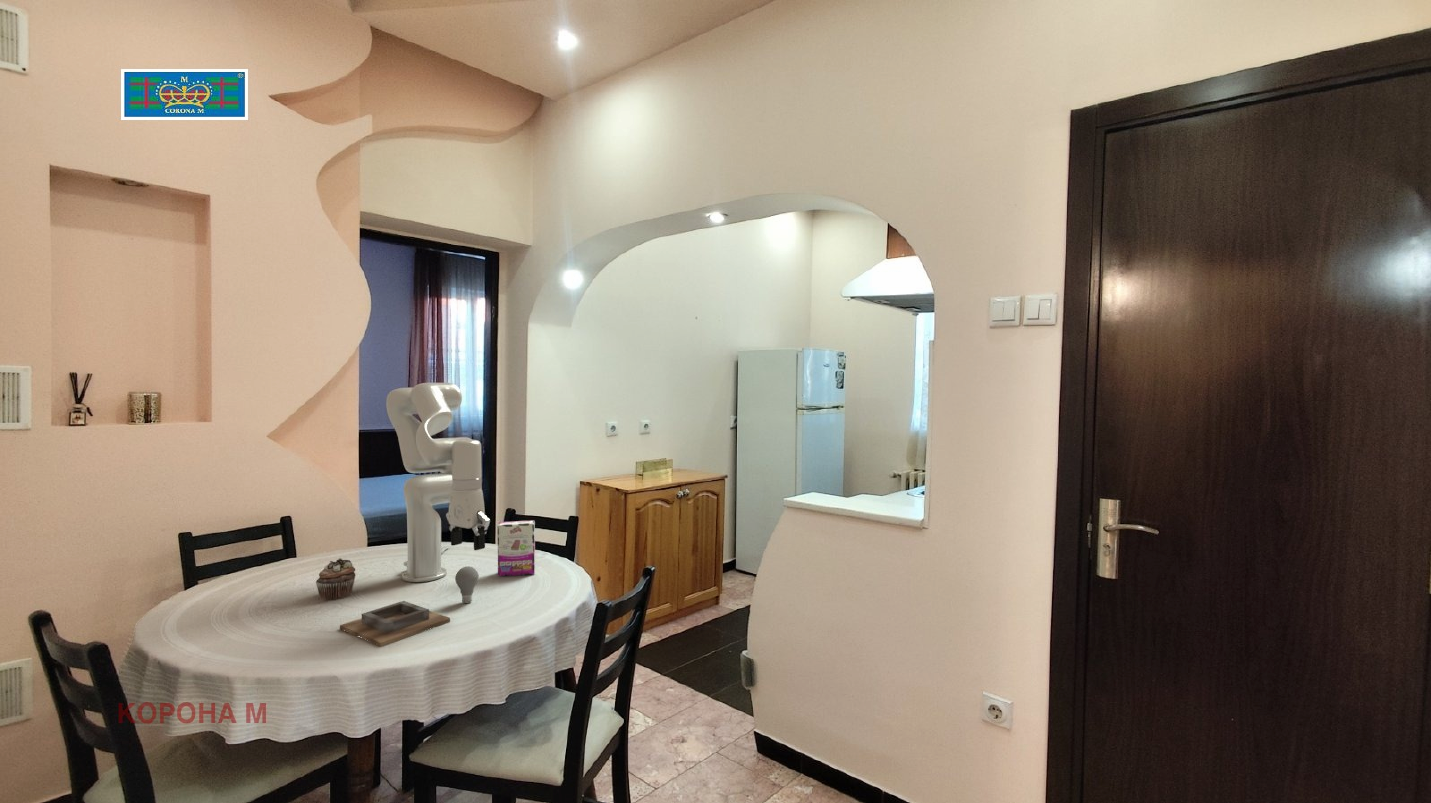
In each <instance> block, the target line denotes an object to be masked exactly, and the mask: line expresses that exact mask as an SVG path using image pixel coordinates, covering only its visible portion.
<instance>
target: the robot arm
mask: <svg viewBox="0 0 1431 803" xmlns="http://www.w3.org/2000/svg"><path fill="white" fill-rule="evenodd" d="M462 402H463V395H462V391H461V389H460V388H459V386H458V385H457V384H455V383H452V382H423V383H418V384H415V385H414V386H413V387H400V388H395V389H393V390H391V391H389V393H388V395H387V397H386V401H385V403H386V411H387V416H388V419H389V421H390V423H391V425H392V427H393V428H394V430H395V432H396V435H397V437H398V438H397V439H398V443H399V444H398V445H399V449H400V454H401V459H402V463H403V466H404V468H405V470H406V472H408V473H410V474H420V475H415V476H412V477H409V478H408V479H407V480H406V481H405V482H404V484H403V497H404V500H405V501H404V503H405V506H406V524H407V525H406V528H407V530H406V531H407V536H406V537H407V561H404V562H403V566H404V567H406V571H404V572H403V573H402V575H401V579H402V580H403V581H404V582H410V583H423V582H424V583H425V582H430V581H431V582H432V581H435V580H439V579H441V578H444V577H445V576H446V575H447V569H446V568H445V567H443V566H442V553H441V548H442V520H441V517H440V514H439V513H438V512H437V511H436V510H435V509H434V507H433V506H437V505H441V504H448V512H447V513H445V518H446V520H447V525H448V526H449V528H448V529H449V531H450V545H451V547H452V546H457V545H461V544H463V529H472V531H473V533H474V535H473V550H474V551H479V550H484V549H485V548H486V535H487V531H488V530H489V526H490V522H491V519H490V517H488V516H487V515H486V512H485V509H486V508H485V500H484V492H483V488H482V486H483V485H482V482H483V480H482V476H483V474H482V471H483V470H482V443H481V442H480V440H478V439H472V438H470V437H467V436H459V437H444V438H443V437H441V438H432V436H435V435H436V434H438V433H440V432H443V431H444V430H446V429H448V427H449V426H450V425H451V424H452V423H453V420H454V415H453V411H455V410H458V408H460V406H461V404H462ZM414 415H418V417H419V418H420V420H419V419H417V418H416V417H415V416H414ZM437 472H439V473H437ZM421 473H424V474H421ZM425 473H429V474H425ZM462 528H463V529H462ZM478 528H479V529H478Z"/></svg>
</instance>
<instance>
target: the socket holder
mask: <svg viewBox="0 0 1431 803" xmlns="http://www.w3.org/2000/svg"><path fill="white" fill-rule="evenodd" d="M450 622H451V618H450V617H448V616H446V615H443V614H439V613H437V612H435V611H431V610H430V609H429V608H426V607H423V606H421V605H417V604H414V603H413V602H412V603H411V602H408V601H405V600H402V601H399V602H396V603H392V604H389V605H386V606H383V607H379V608H376V609H373V610H369V611H366V612H362V613H361V618H358V619H355V620H352V621H348V622H346V623H342V624H339V630H340V629H342V630H341V631H343V630H345V631H347V632H349V633H348V634H350V633H351V634H350V635H352V634H353V635H352V636H355V637H357V636H360V637H362V638H363V639H362V638H361V639H362V640H364V639H366V640H368V641H367V642H369V641H370V642H369V643H371V642H372V644H374V645H376V644H377V645H376V646H378V645H379V647H381V648H382V647H385V646H387V644H388V645H390V644H393V643H395V642H398V641H401V640H403V639H406V638H409V637H412V636H415V635H417V634H420V633H422V632H426V631H428V629H429V630H431V629H434V628H437V627H440V626H442V625H444V624H447V623H450ZM433 627H434V628H433ZM430 628H431V629H430ZM425 630H426V631H425ZM345 631H344V632H345ZM347 632H346V633H347ZM366 640H365V641H366ZM384 645H385V646H384Z"/></svg>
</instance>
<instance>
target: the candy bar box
mask: <svg viewBox="0 0 1431 803" xmlns="http://www.w3.org/2000/svg"><path fill="white" fill-rule="evenodd" d="M535 525H536V522H535V520H518V521H514V520H513V521H500V522H498V524H497V576H498V577H499V576H500V577H513V576H515V577H516V576H517V577H518V576H525V575H526V576H530V574H532V575H535V570H536V539H535V538H536V535H535V534H536V533H535V531H536V529H535Z"/></svg>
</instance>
